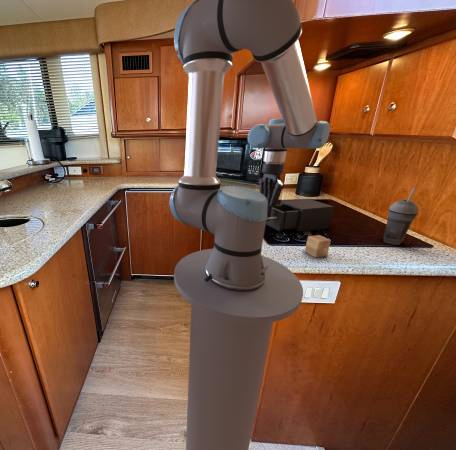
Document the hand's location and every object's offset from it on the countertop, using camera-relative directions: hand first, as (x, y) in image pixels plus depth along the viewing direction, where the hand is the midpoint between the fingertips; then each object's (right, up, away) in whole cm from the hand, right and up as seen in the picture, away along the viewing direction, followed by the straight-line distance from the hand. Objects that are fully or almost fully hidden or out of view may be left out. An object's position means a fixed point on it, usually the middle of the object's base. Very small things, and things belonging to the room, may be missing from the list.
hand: (265, 220), depth 99 cm
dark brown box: (+18, -2, +5) cm, 19 cm away
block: (+7, -11, -20) cm, 24 cm away
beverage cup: (+39, -8, -13) cm, 43 cm away
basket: (+7, -2, +2) cm, 7 cm away
